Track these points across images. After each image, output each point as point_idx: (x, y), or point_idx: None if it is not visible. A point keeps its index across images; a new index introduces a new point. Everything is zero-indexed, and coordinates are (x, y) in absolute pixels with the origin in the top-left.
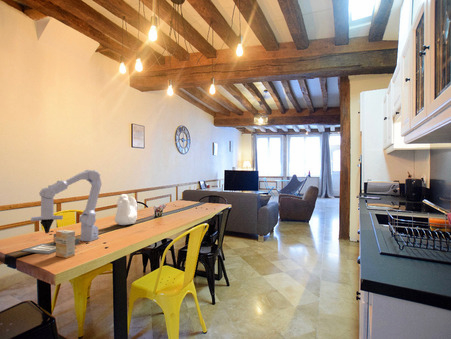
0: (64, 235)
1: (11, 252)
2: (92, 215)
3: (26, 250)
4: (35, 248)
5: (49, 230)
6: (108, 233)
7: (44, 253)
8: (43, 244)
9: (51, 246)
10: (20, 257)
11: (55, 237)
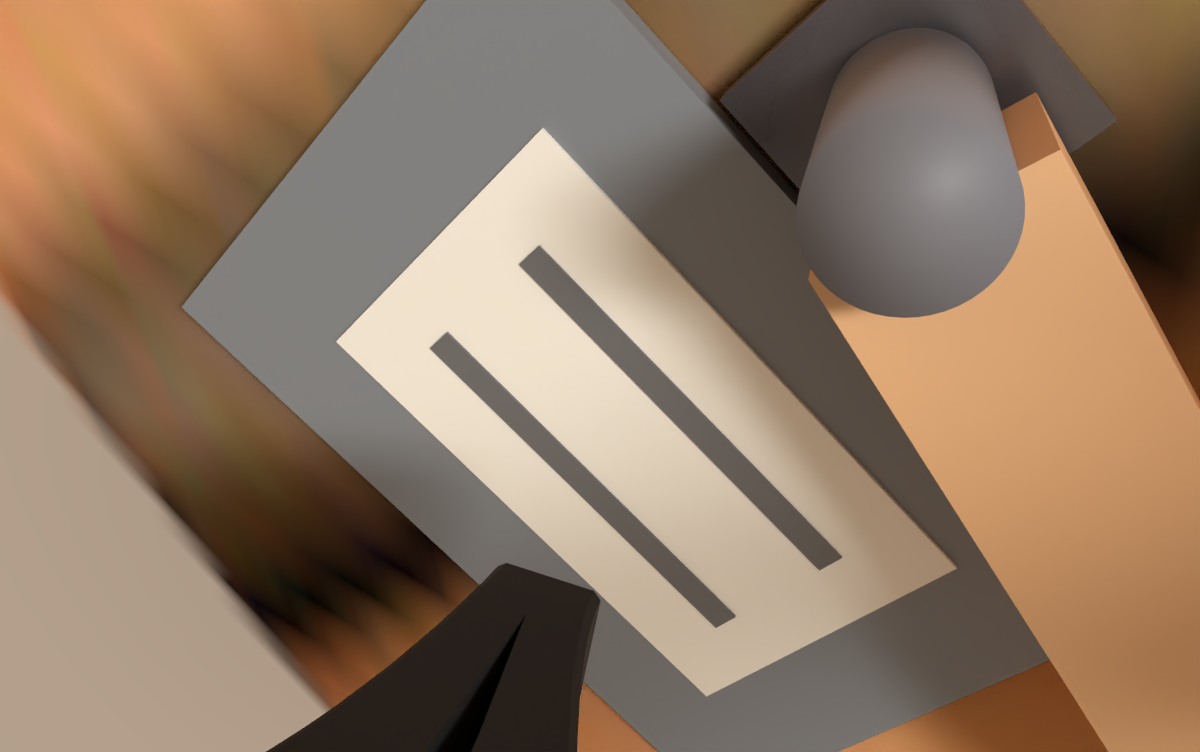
0: None
1: (42, 257)
2: None
3: (287, 390)
4: (429, 359)
5: (586, 638)
6: None
7: (648, 728)
8: (553, 51)
9: (766, 416)
10: (312, 646)
11: (864, 363)
